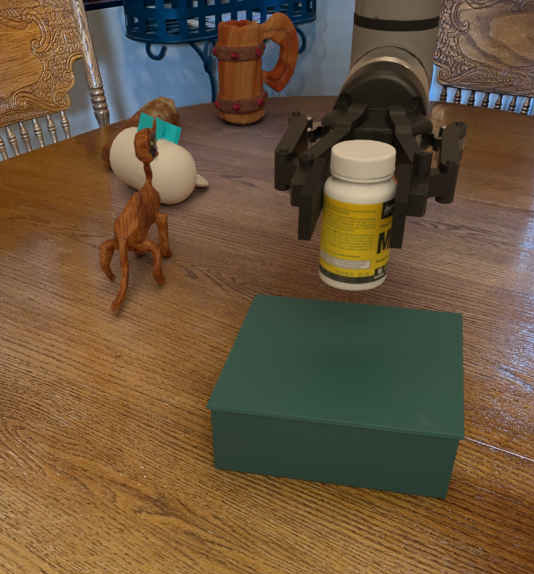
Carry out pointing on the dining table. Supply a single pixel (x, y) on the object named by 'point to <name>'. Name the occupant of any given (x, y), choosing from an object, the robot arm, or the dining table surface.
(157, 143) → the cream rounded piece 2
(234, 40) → the mug
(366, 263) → the supplement bottle
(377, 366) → the box
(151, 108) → the bread
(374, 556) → the dining table surface
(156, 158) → the brown animal figurine
